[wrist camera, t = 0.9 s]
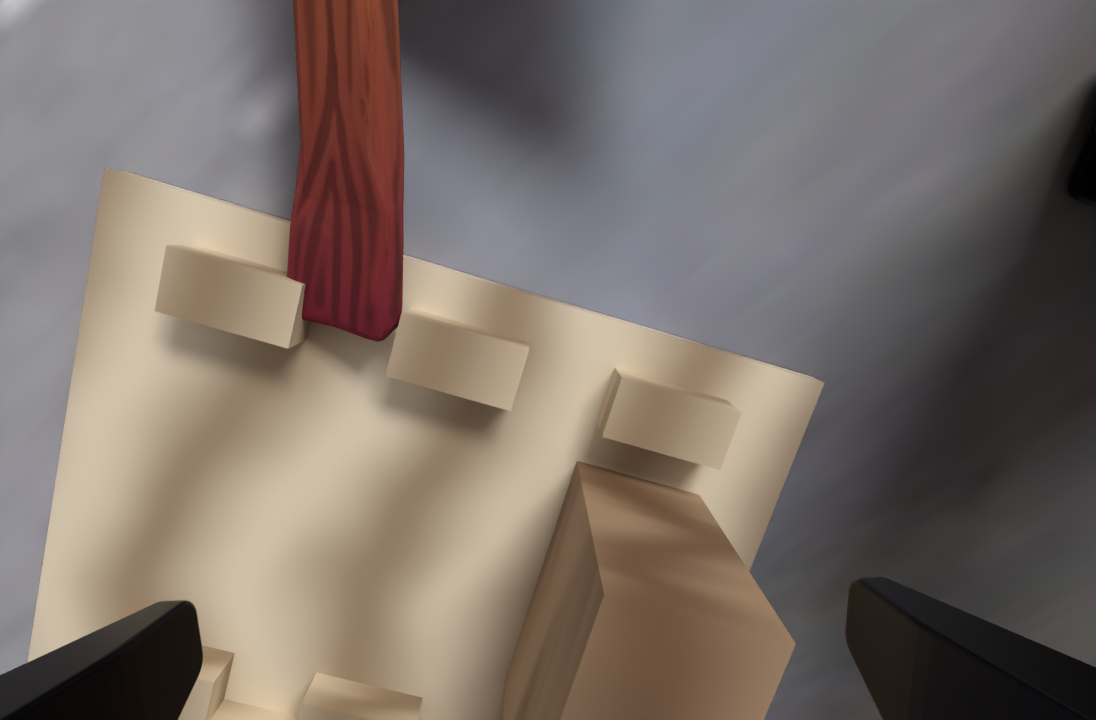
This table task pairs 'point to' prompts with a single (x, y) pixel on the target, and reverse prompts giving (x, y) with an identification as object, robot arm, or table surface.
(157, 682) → the robot arm
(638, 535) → the brown wooden box
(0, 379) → the table surface
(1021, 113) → the table surface
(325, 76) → the sign
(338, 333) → the birch notch board
